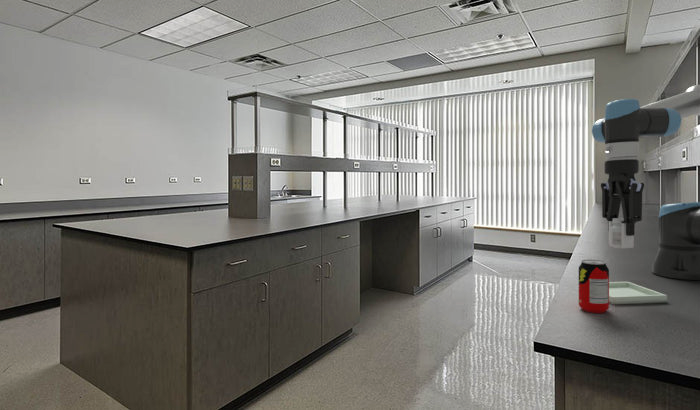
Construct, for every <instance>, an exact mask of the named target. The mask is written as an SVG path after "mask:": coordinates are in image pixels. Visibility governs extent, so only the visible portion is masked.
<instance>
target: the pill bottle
mask: <svg viewBox="0 0 700 410" xmlns="http://www.w3.org/2000/svg"><path fill="white" fill-rule="evenodd" d="M621 221H624V218H622V217H621V218H620V217H618V218H613V222H612V223H613V224H614V225H613V226H612V227H611V228H610V245H609V247H611V248H615V249H622V248H621V234H622V222H621Z"/></svg>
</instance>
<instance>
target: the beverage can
mask: <svg viewBox="0 0 700 410" xmlns="http://www.w3.org/2000/svg"><path fill="white" fill-rule="evenodd" d="M609 282H610V268H609V267H608V266H607V262H606V261H604V260H602V259H601V260H600V259H582V260H581V264H580V265H579V266H578V306H579V307H580V308H581V309H582V310H583V311H584V310H585V311H584V312H588V313H592V314H602V313H605V312H606V311H608V310H609V307H610V303H609Z"/></svg>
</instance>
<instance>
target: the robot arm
mask: <svg viewBox="0 0 700 410" xmlns="http://www.w3.org/2000/svg"><path fill="white" fill-rule="evenodd" d="M604 110H605V111H604V118H600V119H598V120H597V121H595V122H594V124H593V125H592V128H591V134H592V136H593V139H594V140H595V141H596V142H598V143H602V144H604V158H605V159H606V160H605V162H604V174H605V175H608V178H607V181H606V182H601V183H600V189H601V195H602V196H601V203H602V204H601V209H602V210H601V211H602V212H601V213H602V214H601V215H602V216H601V217H602V218H603V219H606V221H607V222H608V223H607V228H608V229H607V231H608V245H609V246H610V228H611V227H612V226H613V225H614V224H613V223H612V222H613V218H619V214H620V208H621V209H622V217H623V218H624V221H621V222H622V234H621V248H620V249H634V247H635V245H634V242H635V241H634V239H635V232H636V231H635V229H636V225H635V224H636V223H638V222H641V221H642V219H643V217H642V216H643V191H644V188H645V183H644V182H639V181H638V182H637V181H636V177H635V174H638V173H639V170H640V167H639V164H640V163H639V162H640V161H639V160H638V159H637V158H638V157H639V156H640V139H642V138H643V139H645V138H653V137H656V138H660V137H661V138H663V137H669V136H672V135H674V134H675V133H676V132H678V130H679V128H680V127H681V125H682V119H685V118H689V117H691V116H696V117H697V116H700V83H699V84H695V85H692V86H690V87H688V88H687V89H686V90H685V91H684V92H682V93H678V94H676V95H673V96H670V97H669V96H668V97H667V98H664V99H661V100H658V101H655V102H652V103H648V104H646V105H643V106H640V101H639V100H638V99H635V98H624V99H617V100H614V101H613V100H612V101H610V102H608V103H606V105H605V109H604ZM651 272H652V273H653V274H654V275H656V276H660V277H663V278H664V277H665V278H670V279H677V280H688V281H700V201H696V202H695V201H694V202H682V203H669V204H663V205H662V206H661V207H660V208H659V215H658V251H657V253H656V255H655V258H654V262H653V263H652V264H651Z"/></svg>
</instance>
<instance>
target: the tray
mask: <svg viewBox="0 0 700 410" xmlns="http://www.w3.org/2000/svg"><path fill="white" fill-rule="evenodd" d="M654 303H656V304H657V303H668V295H667V294H664V293H661V292H659V291H656V290H654V289H650V288H648V287H644V286H641V285H639V284H636V283H633V282H630V281H609V304H610V305H624V304H625V305H627V304H628V305H630V304H632V305H633V304H654Z"/></svg>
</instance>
